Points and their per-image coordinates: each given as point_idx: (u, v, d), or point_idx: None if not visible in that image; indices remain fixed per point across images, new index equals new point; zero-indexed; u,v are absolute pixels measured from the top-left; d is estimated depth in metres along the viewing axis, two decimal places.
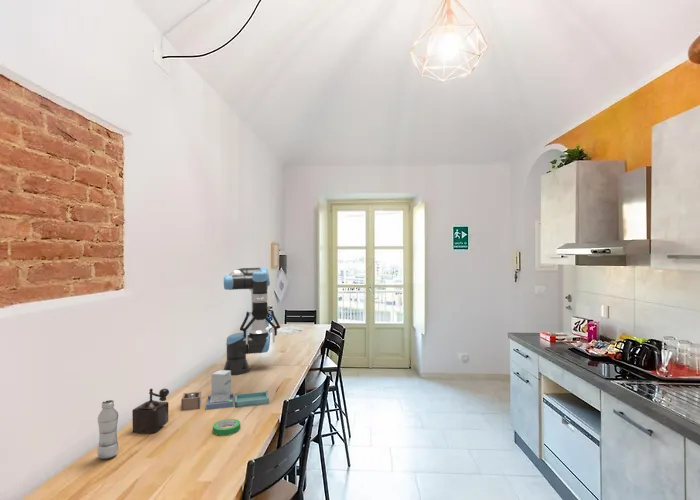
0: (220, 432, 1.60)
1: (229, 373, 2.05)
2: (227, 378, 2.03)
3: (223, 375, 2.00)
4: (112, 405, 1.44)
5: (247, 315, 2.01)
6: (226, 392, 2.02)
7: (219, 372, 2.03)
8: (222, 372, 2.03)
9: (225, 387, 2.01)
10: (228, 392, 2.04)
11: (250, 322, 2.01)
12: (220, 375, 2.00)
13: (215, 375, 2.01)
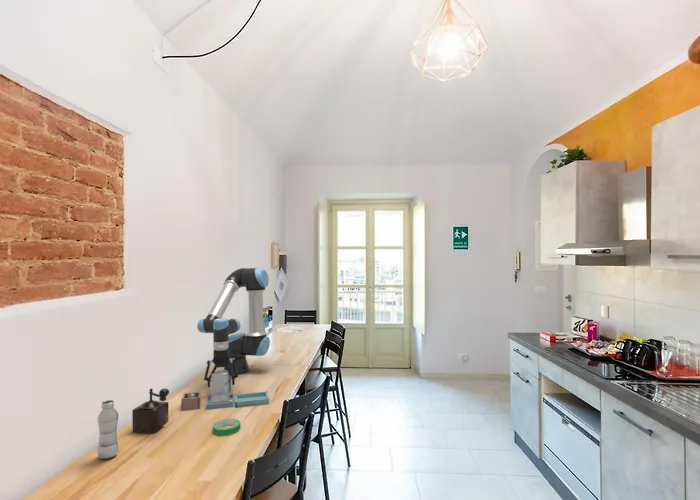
0: (220, 432, 1.60)
1: None
2: (227, 378, 2.03)
3: (223, 375, 2.00)
4: (112, 405, 1.44)
5: (208, 364, 2.01)
6: (226, 392, 2.02)
7: (219, 372, 2.03)
8: (222, 372, 2.03)
9: (225, 387, 2.01)
10: (228, 392, 2.04)
11: (212, 371, 2.02)
12: (220, 375, 2.00)
13: (215, 375, 2.01)
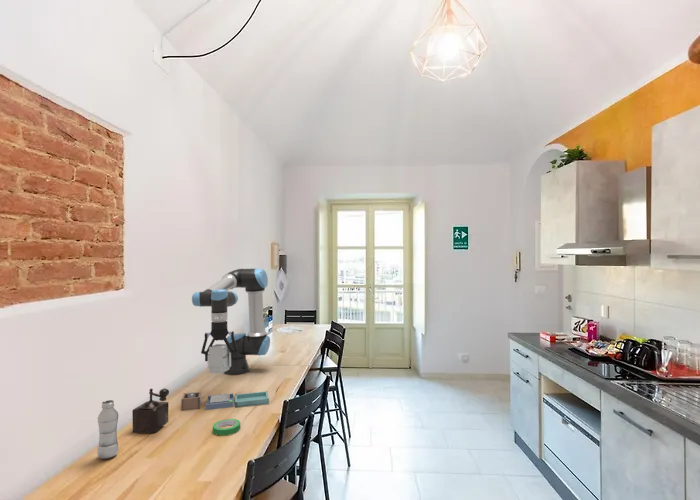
0: (220, 432, 1.60)
1: None
2: (225, 352, 1.92)
3: (221, 348, 1.90)
4: (112, 405, 1.44)
5: (206, 337, 1.91)
6: (224, 366, 1.91)
7: (217, 345, 1.93)
8: (220, 345, 1.93)
9: (224, 361, 1.91)
10: (226, 367, 1.93)
11: (210, 344, 1.91)
12: (218, 348, 1.90)
13: (213, 348, 1.90)
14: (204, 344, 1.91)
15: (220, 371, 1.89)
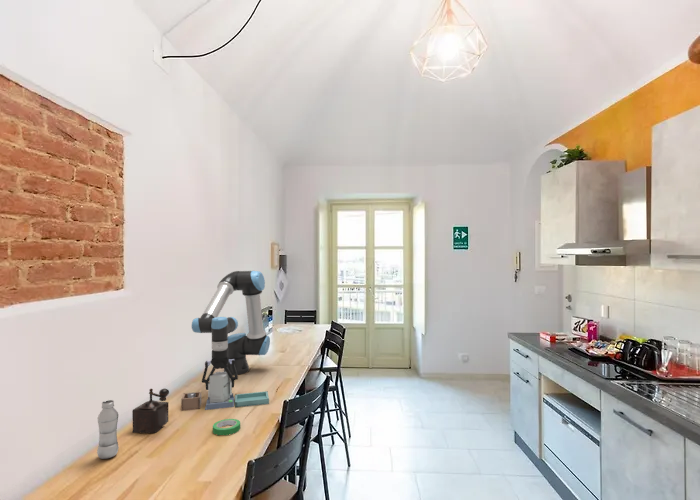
0: (220, 432, 1.60)
1: None
2: (226, 380, 1.91)
3: (222, 377, 1.88)
4: (112, 405, 1.44)
5: (206, 365, 1.90)
6: (225, 395, 1.90)
7: (218, 374, 1.92)
8: (221, 374, 1.91)
9: (224, 390, 1.90)
10: (227, 395, 1.92)
11: (211, 373, 1.90)
12: (219, 377, 1.89)
13: (213, 377, 1.89)
14: (204, 373, 1.89)
15: (221, 400, 1.88)
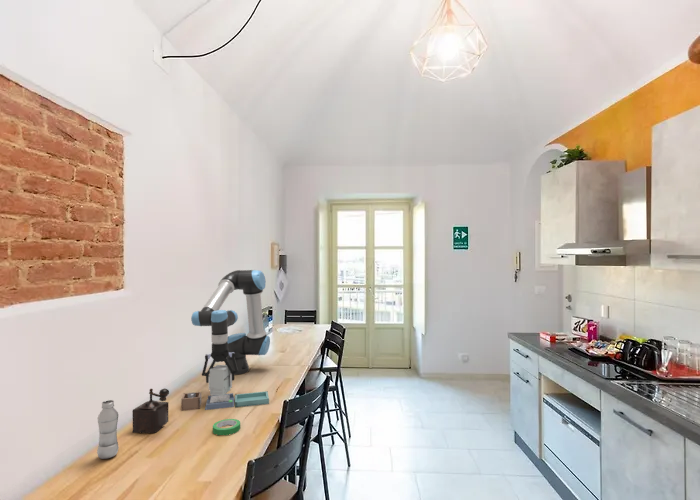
0: (220, 432, 1.60)
1: (228, 368, 1.94)
2: (226, 373, 1.92)
3: (222, 370, 1.89)
4: (112, 405, 1.44)
5: (206, 358, 1.90)
6: (226, 388, 1.91)
7: (218, 367, 1.92)
8: (221, 367, 1.92)
9: (225, 383, 1.90)
10: (227, 388, 1.93)
11: (211, 366, 1.90)
12: (219, 370, 1.89)
13: (213, 370, 1.89)
14: (205, 366, 1.90)
15: (221, 393, 1.89)
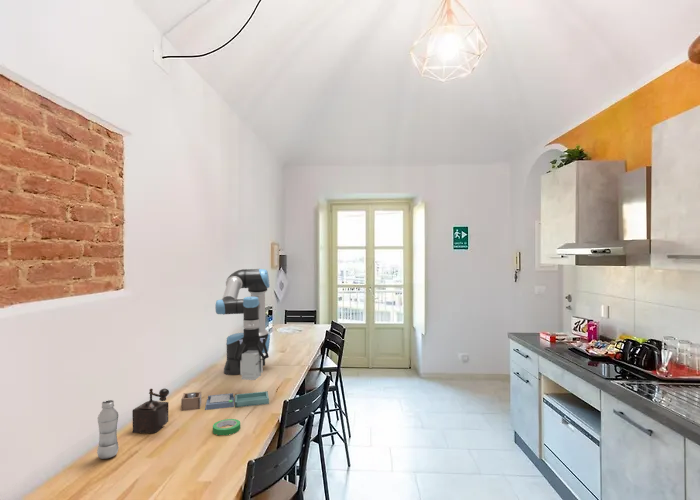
0: (220, 432, 1.60)
1: (259, 353, 1.97)
2: (258, 358, 1.95)
3: (254, 355, 1.92)
4: (112, 405, 1.44)
5: (238, 343, 1.94)
6: (257, 373, 1.94)
7: (249, 352, 1.95)
8: (252, 352, 1.95)
9: (256, 368, 1.93)
10: (258, 373, 1.96)
11: (243, 351, 1.94)
12: (251, 355, 1.92)
13: (245, 355, 1.93)
14: (237, 351, 1.93)
15: (253, 377, 1.92)
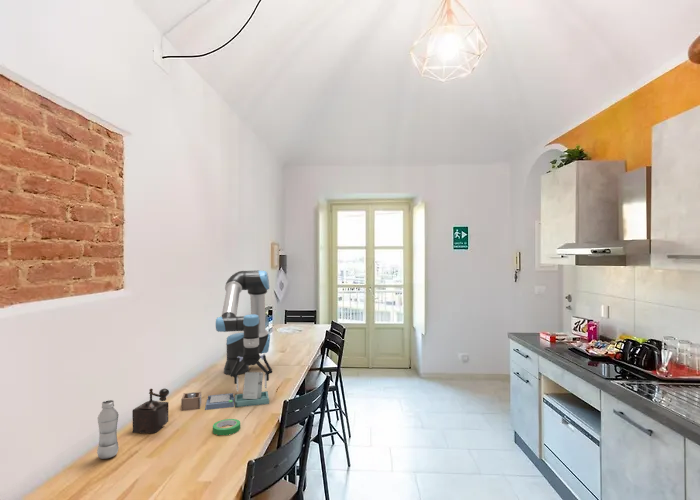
0: (220, 432, 1.60)
1: (262, 374, 2.00)
2: (260, 378, 1.98)
3: (258, 373, 1.96)
4: (112, 405, 1.44)
5: (238, 360, 1.93)
6: (258, 393, 1.95)
7: None
8: None
9: (258, 387, 1.95)
10: (259, 394, 1.96)
11: (241, 368, 1.94)
12: (254, 373, 1.96)
13: (249, 373, 1.96)
14: (235, 368, 1.93)
15: (254, 396, 1.92)
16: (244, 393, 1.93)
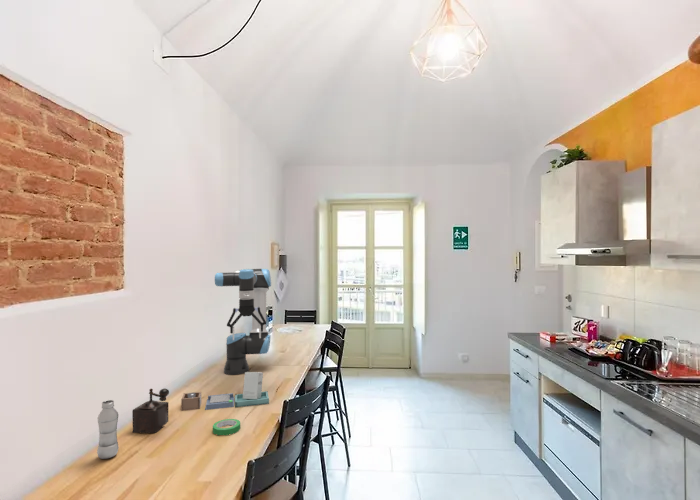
0: (220, 432, 1.60)
1: (261, 374, 2.00)
2: (260, 378, 1.98)
3: (257, 373, 1.96)
4: (112, 405, 1.44)
5: (234, 311, 2.06)
6: (258, 393, 1.95)
7: None
8: None
9: (258, 387, 1.95)
10: (259, 394, 1.96)
11: (237, 318, 2.06)
12: (254, 373, 1.96)
13: (249, 373, 1.96)
14: (231, 318, 2.05)
15: (254, 397, 1.92)
16: (244, 393, 1.93)
